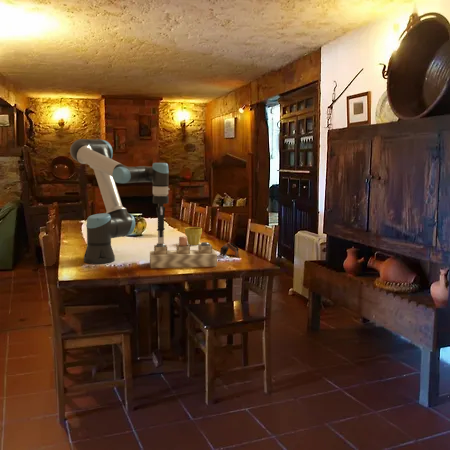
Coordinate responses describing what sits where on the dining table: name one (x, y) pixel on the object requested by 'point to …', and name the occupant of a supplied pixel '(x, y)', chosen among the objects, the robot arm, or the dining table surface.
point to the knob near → (160, 245)
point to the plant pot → (193, 235)
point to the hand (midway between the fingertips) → (160, 243)
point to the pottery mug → (224, 249)
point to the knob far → (204, 244)
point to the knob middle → (182, 241)
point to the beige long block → (183, 257)
